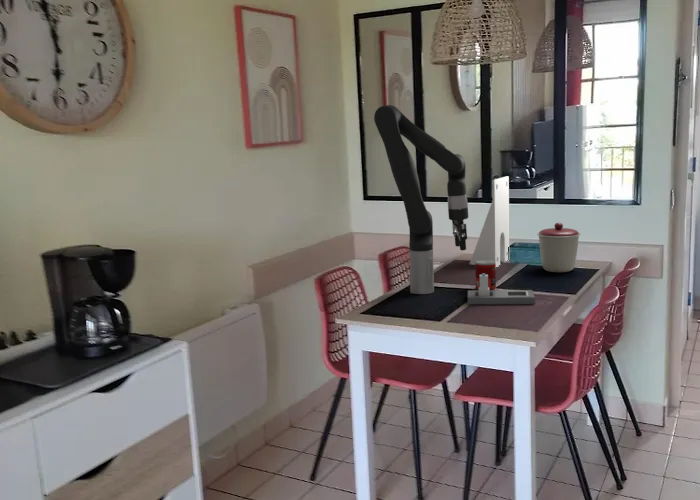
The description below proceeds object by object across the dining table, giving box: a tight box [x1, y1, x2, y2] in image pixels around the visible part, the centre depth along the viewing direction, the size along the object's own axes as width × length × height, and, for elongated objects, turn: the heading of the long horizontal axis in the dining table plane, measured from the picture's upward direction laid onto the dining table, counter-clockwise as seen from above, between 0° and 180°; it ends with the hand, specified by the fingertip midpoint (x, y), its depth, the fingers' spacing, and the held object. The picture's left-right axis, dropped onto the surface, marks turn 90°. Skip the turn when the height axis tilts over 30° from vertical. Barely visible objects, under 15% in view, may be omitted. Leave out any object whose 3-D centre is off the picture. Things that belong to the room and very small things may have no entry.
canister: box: [536, 222, 581, 273], centre depth 302 cm, size 18×18×21 cm
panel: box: [467, 289, 536, 305], centre depth 258 cm, size 24×11×3 cm, turn 80°
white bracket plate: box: [469, 175, 510, 268], centre depth 323 cm, size 20×14×40 cm
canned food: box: [474, 260, 497, 290], centre depth 276 cm, size 8×8×11 cm
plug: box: [477, 273, 490, 296], centre depth 258 cm, size 4×4×10 cm
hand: (460, 248), depth 268 cm, fingers open, 8 cm apart
